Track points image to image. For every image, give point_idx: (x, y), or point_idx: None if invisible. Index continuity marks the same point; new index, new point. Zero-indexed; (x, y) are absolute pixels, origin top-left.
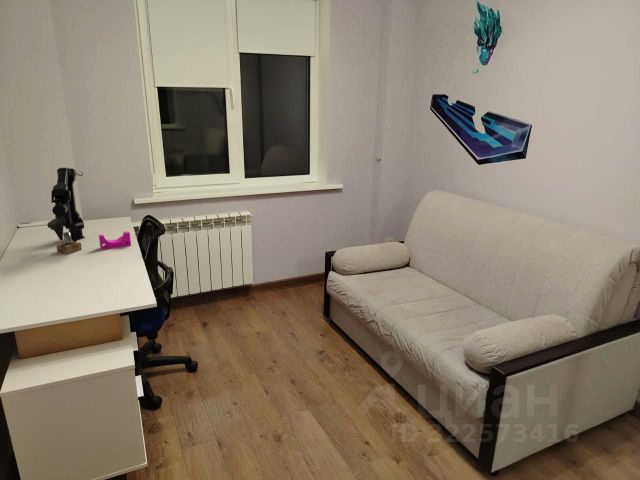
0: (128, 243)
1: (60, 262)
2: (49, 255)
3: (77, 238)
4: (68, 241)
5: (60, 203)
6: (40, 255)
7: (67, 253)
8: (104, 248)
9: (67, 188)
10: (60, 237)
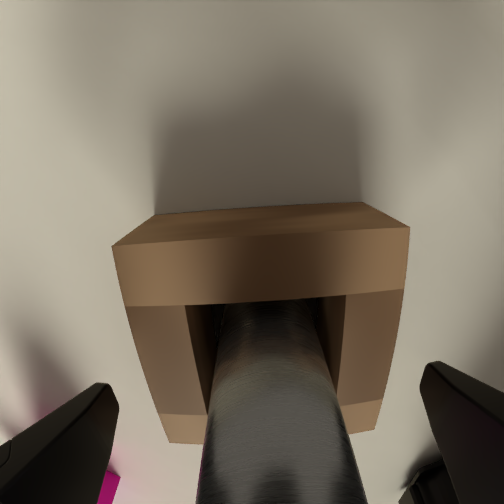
0: None
1: (23, 8)
2: (346, 72)
3: (422, 479)
4: (217, 379)
5: None
6: (434, 51)
7: (182, 213)
8: None
9: None
10: (452, 402)
